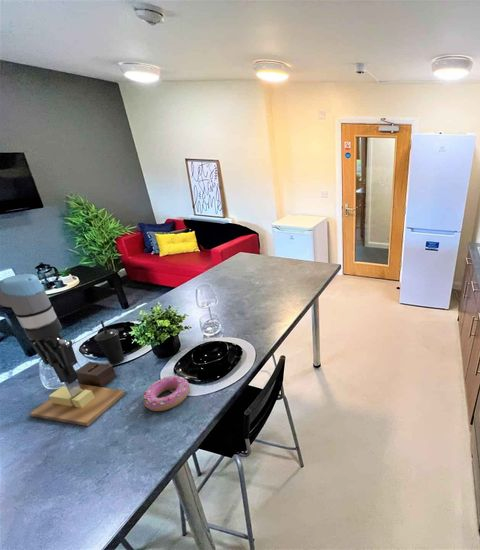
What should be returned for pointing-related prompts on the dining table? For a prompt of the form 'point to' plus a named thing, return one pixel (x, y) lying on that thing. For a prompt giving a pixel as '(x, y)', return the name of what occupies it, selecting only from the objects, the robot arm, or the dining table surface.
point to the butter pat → (83, 398)
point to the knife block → (95, 374)
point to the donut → (168, 401)
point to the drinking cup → (110, 344)
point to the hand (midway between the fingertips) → (69, 380)
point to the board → (80, 415)
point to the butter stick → (62, 397)
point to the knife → (73, 387)
